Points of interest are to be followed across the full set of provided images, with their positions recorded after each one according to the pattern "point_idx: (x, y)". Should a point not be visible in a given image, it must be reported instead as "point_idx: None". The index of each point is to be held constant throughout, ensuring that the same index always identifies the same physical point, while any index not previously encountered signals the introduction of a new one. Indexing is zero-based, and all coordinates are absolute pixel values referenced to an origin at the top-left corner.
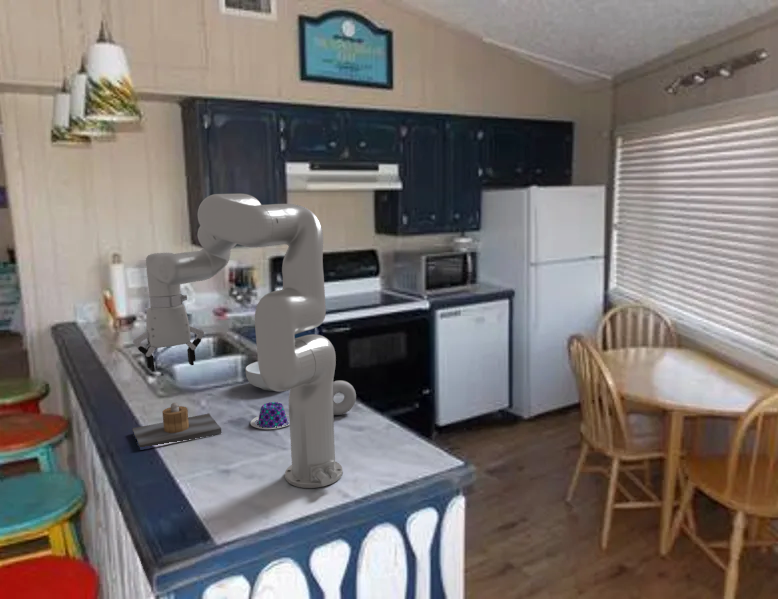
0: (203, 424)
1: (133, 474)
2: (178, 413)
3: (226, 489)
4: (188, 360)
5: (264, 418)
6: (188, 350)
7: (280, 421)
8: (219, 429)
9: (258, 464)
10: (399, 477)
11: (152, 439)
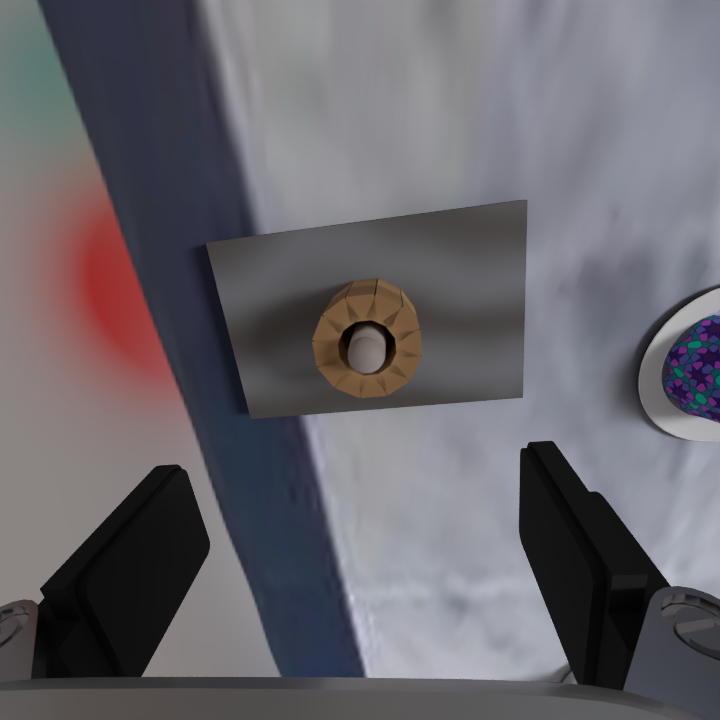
0: (472, 330)
1: (253, 534)
2: (378, 395)
3: (438, 664)
4: (529, 469)
5: (701, 406)
6: (584, 631)
7: None
8: (514, 397)
9: (537, 607)
10: None
11: (287, 390)
